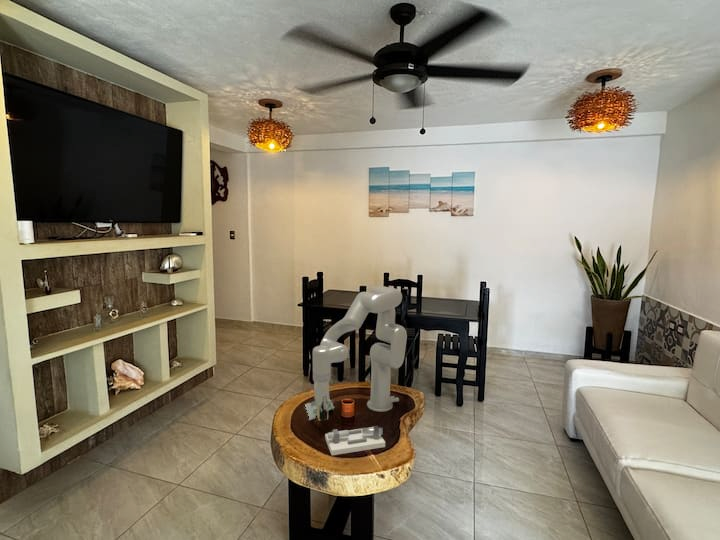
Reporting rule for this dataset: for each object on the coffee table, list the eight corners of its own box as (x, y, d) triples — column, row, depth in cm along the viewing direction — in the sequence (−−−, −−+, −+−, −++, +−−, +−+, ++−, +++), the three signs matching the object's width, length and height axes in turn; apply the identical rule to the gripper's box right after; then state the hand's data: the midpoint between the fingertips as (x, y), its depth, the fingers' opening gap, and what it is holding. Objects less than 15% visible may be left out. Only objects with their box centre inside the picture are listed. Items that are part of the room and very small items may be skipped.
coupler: (328, 414, 158) (327, 398, 157) (330, 418, 154) (329, 403, 153) (315, 416, 156) (314, 400, 155) (317, 420, 153) (316, 405, 152)
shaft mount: (375, 431, 157) (375, 418, 157) (385, 446, 146) (385, 433, 145) (325, 438, 151) (325, 425, 150) (331, 455, 140) (331, 441, 139)
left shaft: (362, 439, 147) (362, 430, 147) (362, 434, 151) (362, 425, 151) (382, 439, 148) (382, 430, 147) (381, 434, 151) (382, 425, 151)
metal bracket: (328, 391, 182) (335, 405, 168) (331, 402, 183) (339, 416, 169) (301, 402, 178) (305, 417, 164) (304, 413, 179) (309, 429, 165)
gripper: (309, 369, 160) (310, 408, 162) (316, 385, 144) (317, 428, 146) (326, 367, 162) (326, 405, 164) (335, 382, 146) (335, 425, 148)
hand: (322, 416), depth 155 cm, fingers closed on coupler, 4 cm apart
